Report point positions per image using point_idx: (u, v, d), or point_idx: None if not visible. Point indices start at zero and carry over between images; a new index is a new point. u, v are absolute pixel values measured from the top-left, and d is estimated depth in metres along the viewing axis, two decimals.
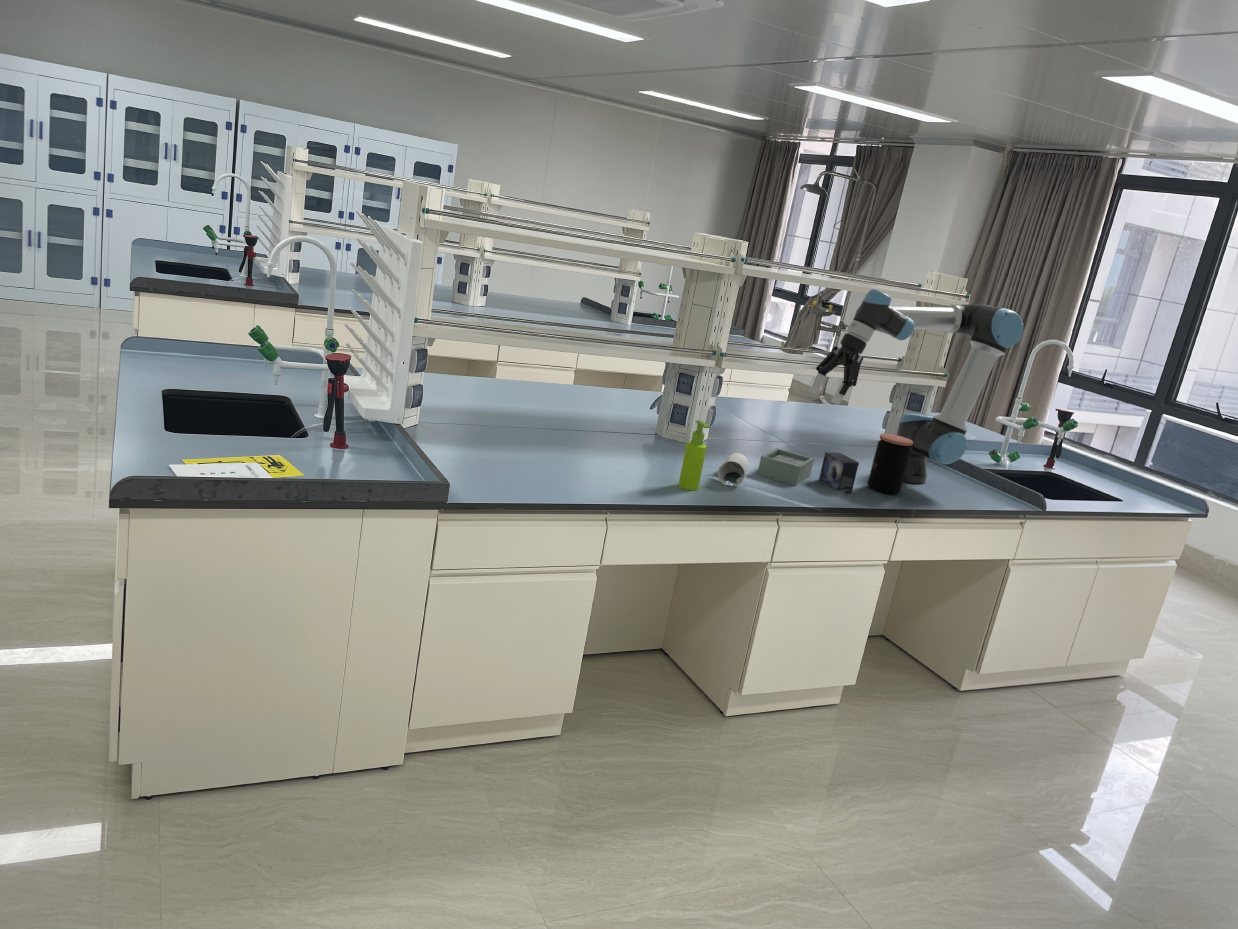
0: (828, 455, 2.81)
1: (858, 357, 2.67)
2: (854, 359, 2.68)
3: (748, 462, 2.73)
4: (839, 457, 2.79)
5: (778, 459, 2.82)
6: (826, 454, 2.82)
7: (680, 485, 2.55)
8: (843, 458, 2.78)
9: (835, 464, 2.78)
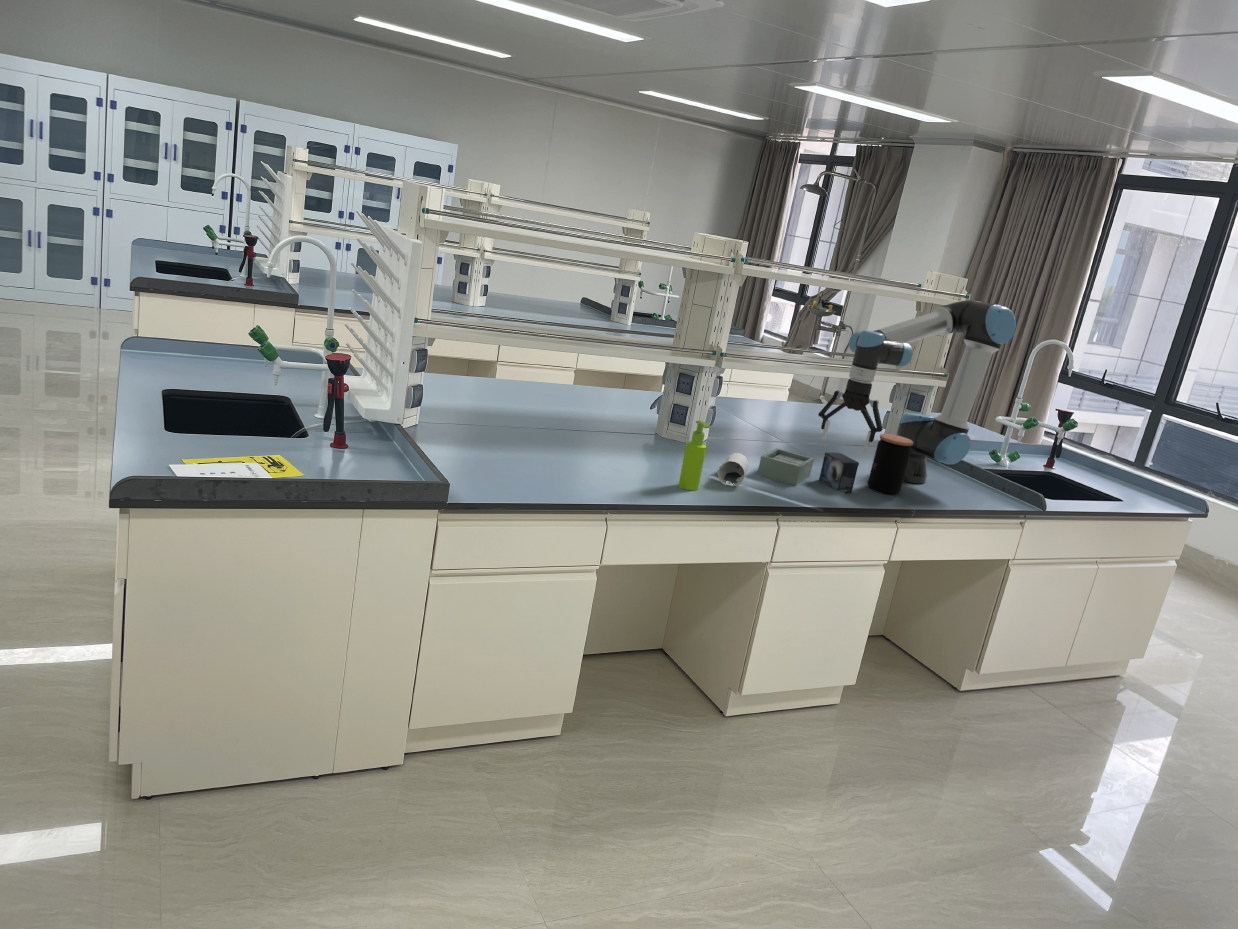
0: (828, 455, 2.81)
1: (877, 403, 2.71)
2: (874, 406, 2.71)
3: (748, 462, 2.73)
4: (839, 457, 2.79)
5: (778, 459, 2.82)
6: (826, 454, 2.82)
7: (680, 485, 2.55)
8: (843, 458, 2.78)
9: (835, 464, 2.78)
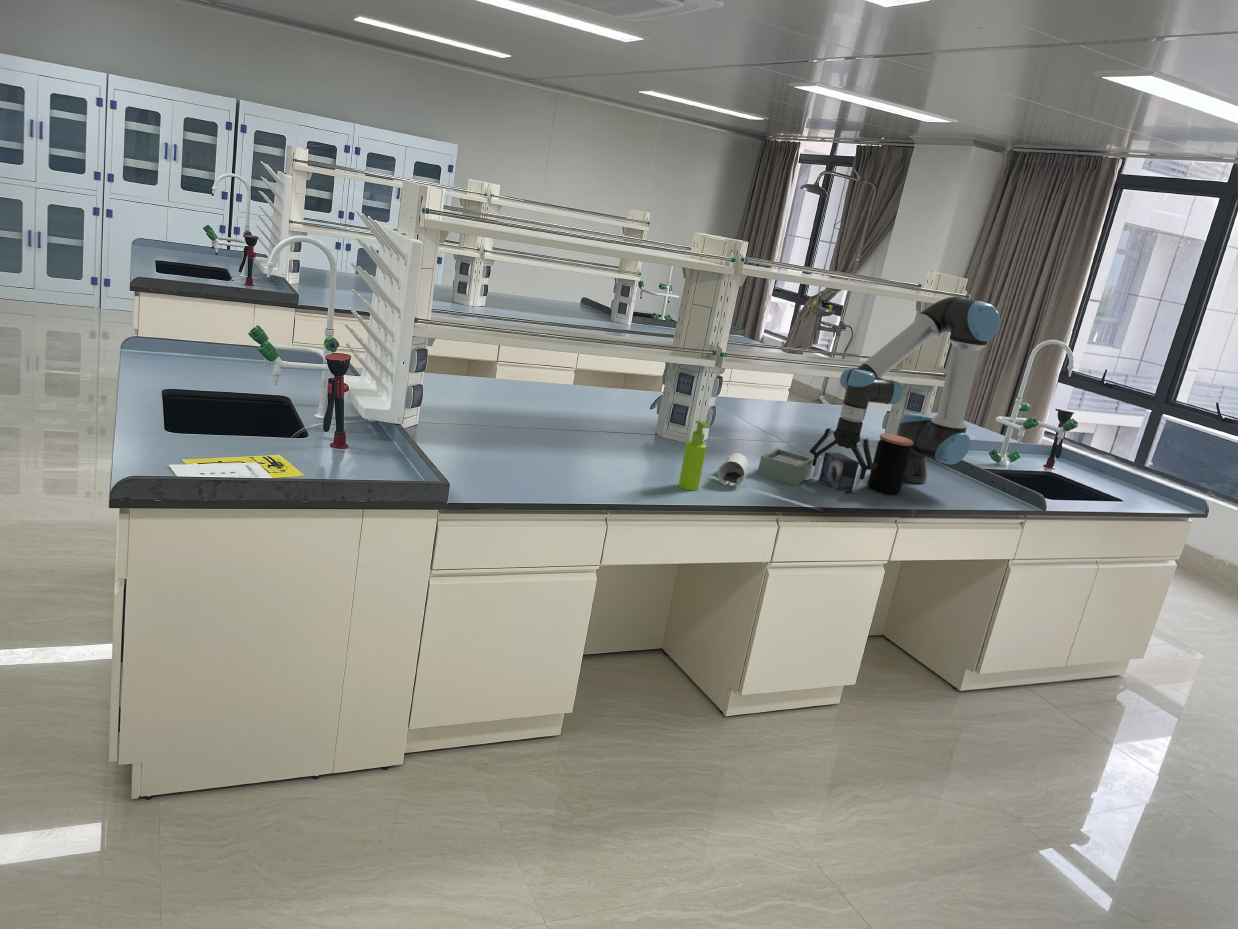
0: (828, 455, 2.81)
1: (867, 441, 2.75)
2: (865, 445, 2.75)
3: (748, 462, 2.73)
4: (839, 457, 2.79)
5: (778, 459, 2.82)
6: (826, 454, 2.82)
7: (680, 485, 2.55)
8: (843, 458, 2.78)
9: (835, 464, 2.78)
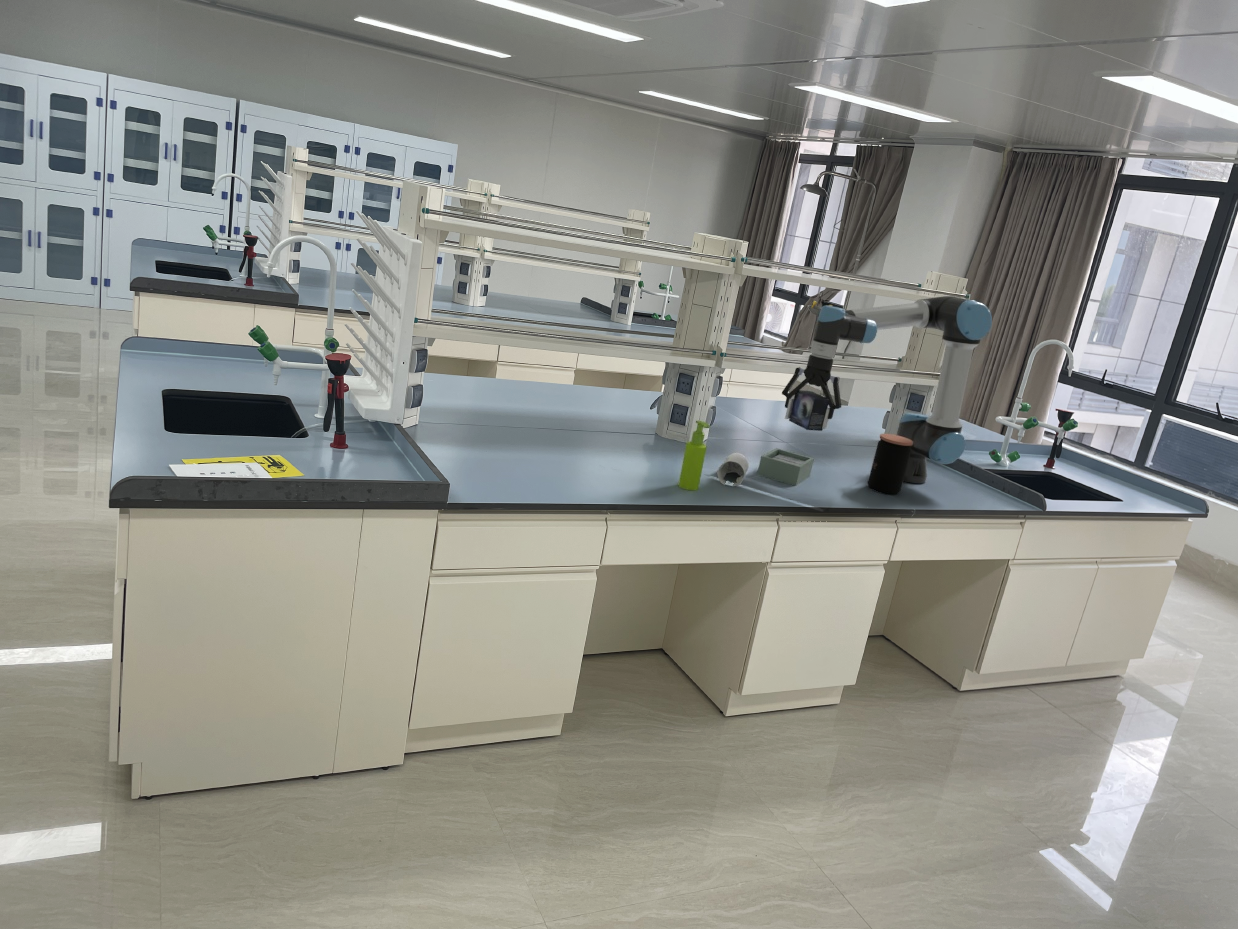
0: (799, 392, 2.77)
1: (838, 380, 2.71)
2: (835, 383, 2.71)
3: (747, 462, 2.72)
4: (810, 394, 2.75)
5: (778, 459, 2.82)
6: (797, 392, 2.78)
7: (680, 485, 2.55)
8: (814, 395, 2.74)
9: (805, 401, 2.74)
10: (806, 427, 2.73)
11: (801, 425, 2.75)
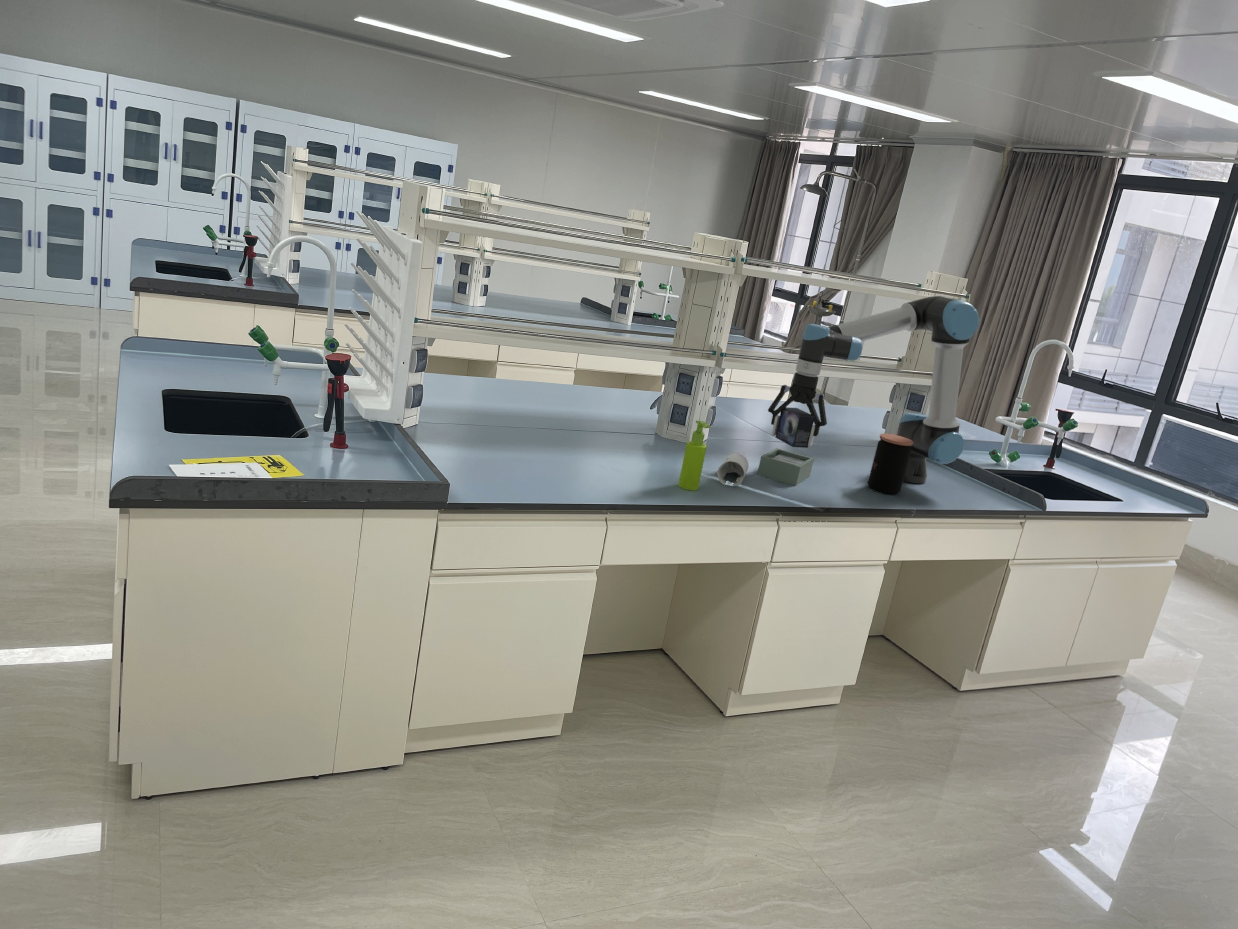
0: (784, 410, 2.79)
1: (823, 397, 2.73)
2: (820, 400, 2.73)
3: (747, 462, 2.72)
4: (795, 411, 2.77)
5: (778, 459, 2.82)
6: None
7: (680, 485, 2.55)
8: (799, 412, 2.76)
9: (791, 418, 2.76)
10: (792, 444, 2.75)
11: (787, 442, 2.78)
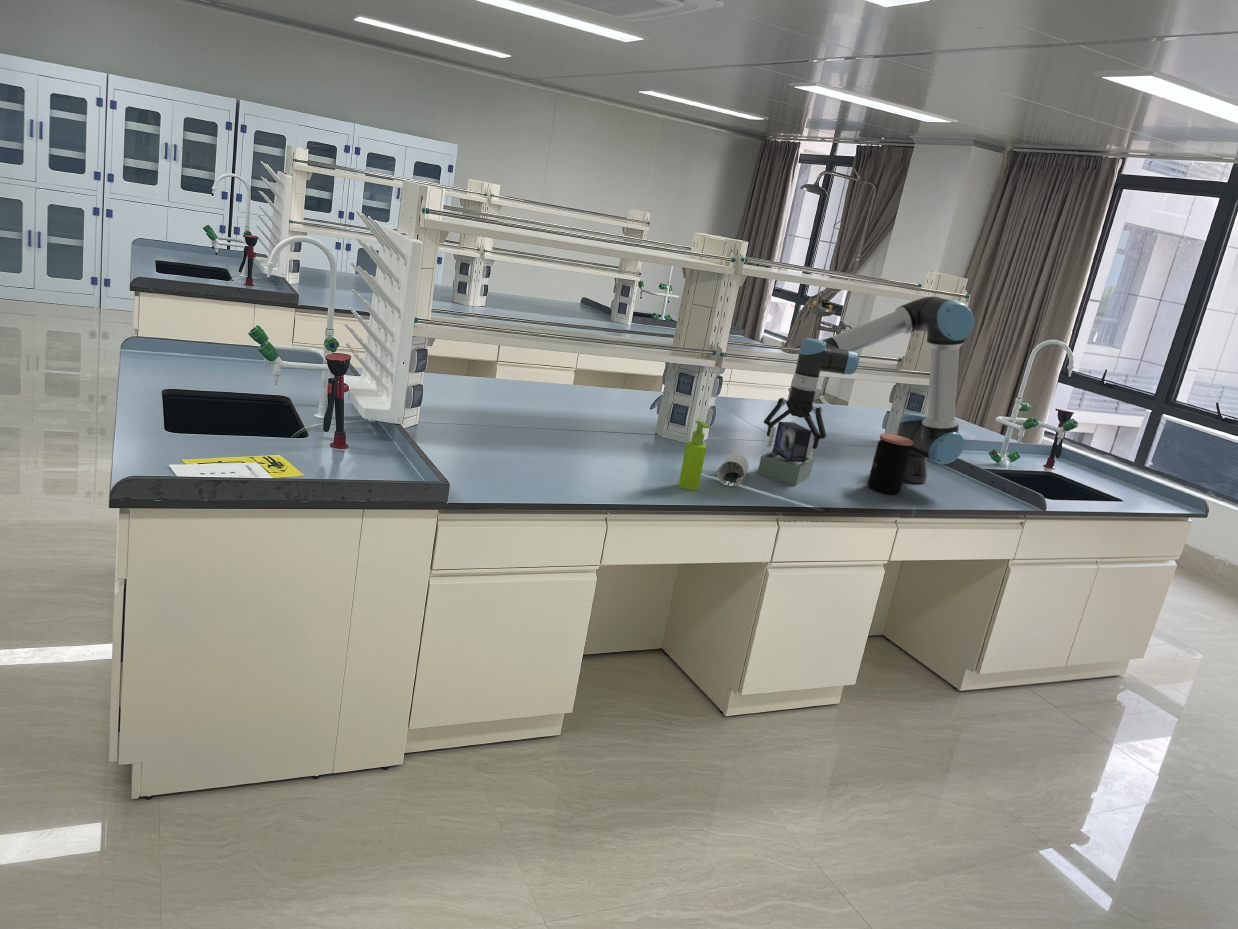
0: (781, 424, 2.81)
1: (820, 410, 2.74)
2: (817, 413, 2.74)
3: (747, 462, 2.72)
4: (792, 426, 2.78)
5: (778, 459, 2.82)
6: (779, 423, 2.82)
7: (680, 485, 2.55)
8: (796, 427, 2.78)
9: (788, 433, 2.77)
10: (788, 459, 2.77)
11: (784, 456, 2.79)
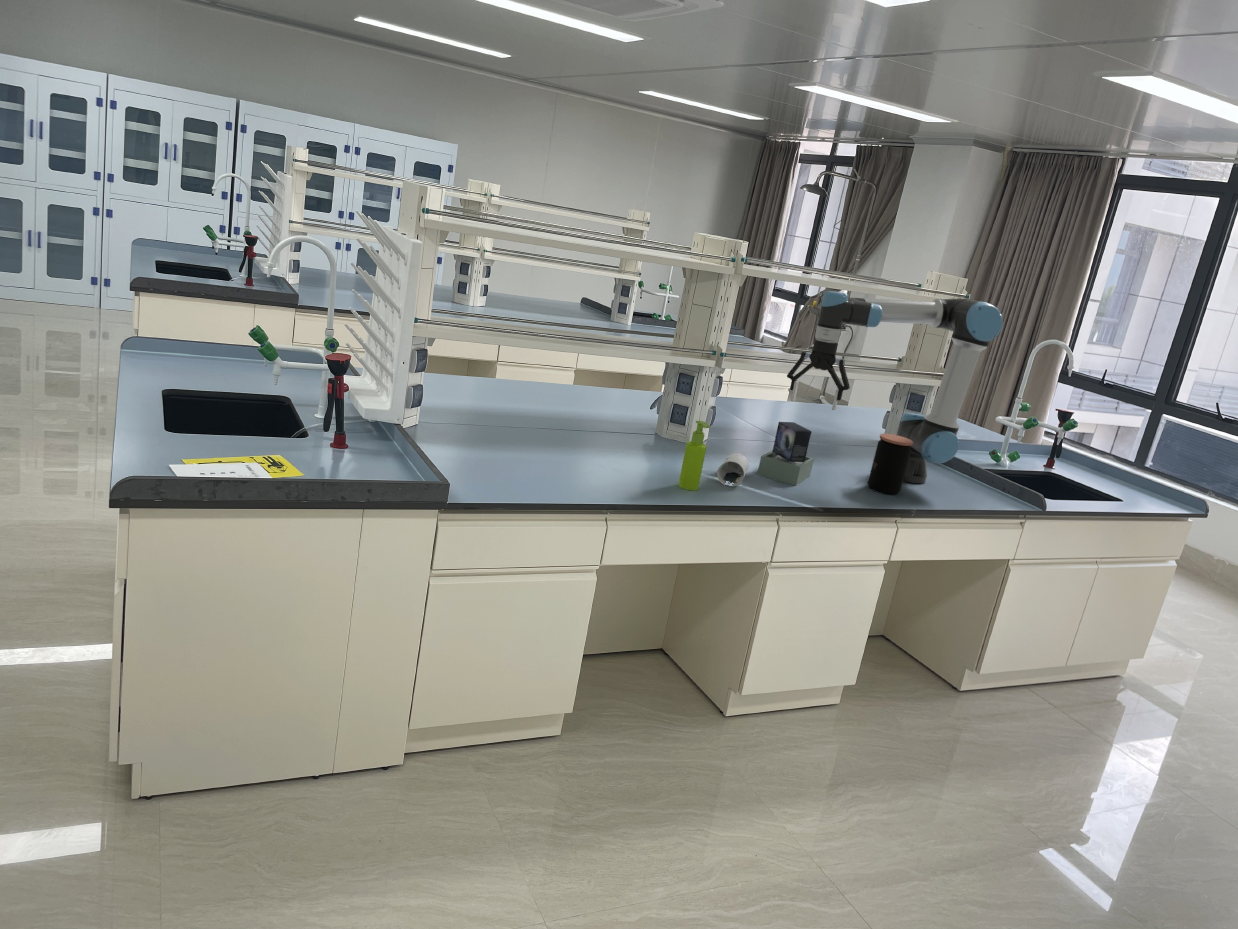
0: (781, 424, 2.81)
1: (843, 362, 2.78)
2: (840, 365, 2.78)
3: (747, 462, 2.72)
4: (792, 426, 2.78)
5: (778, 459, 2.82)
6: (779, 423, 2.82)
7: (680, 485, 2.55)
8: (796, 427, 2.78)
9: (787, 433, 2.77)
10: (788, 459, 2.77)
11: (784, 457, 2.79)
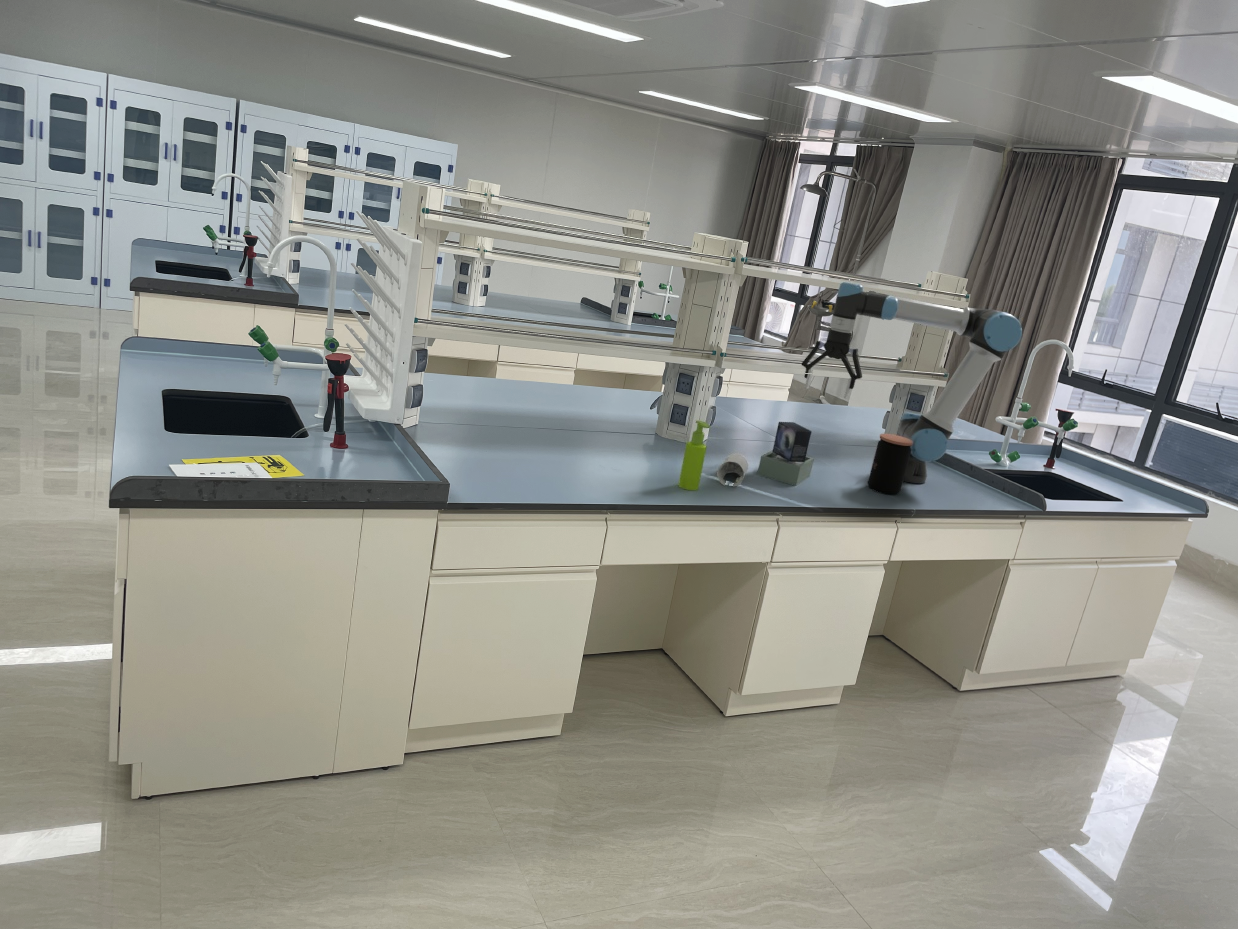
0: (781, 424, 2.81)
1: (856, 351, 2.86)
2: (854, 354, 2.86)
3: (747, 462, 2.72)
4: (792, 426, 2.78)
5: (778, 459, 2.82)
6: (779, 423, 2.82)
7: (680, 485, 2.55)
8: (796, 427, 2.78)
9: (787, 433, 2.77)
10: (788, 459, 2.77)
11: (784, 456, 2.79)
